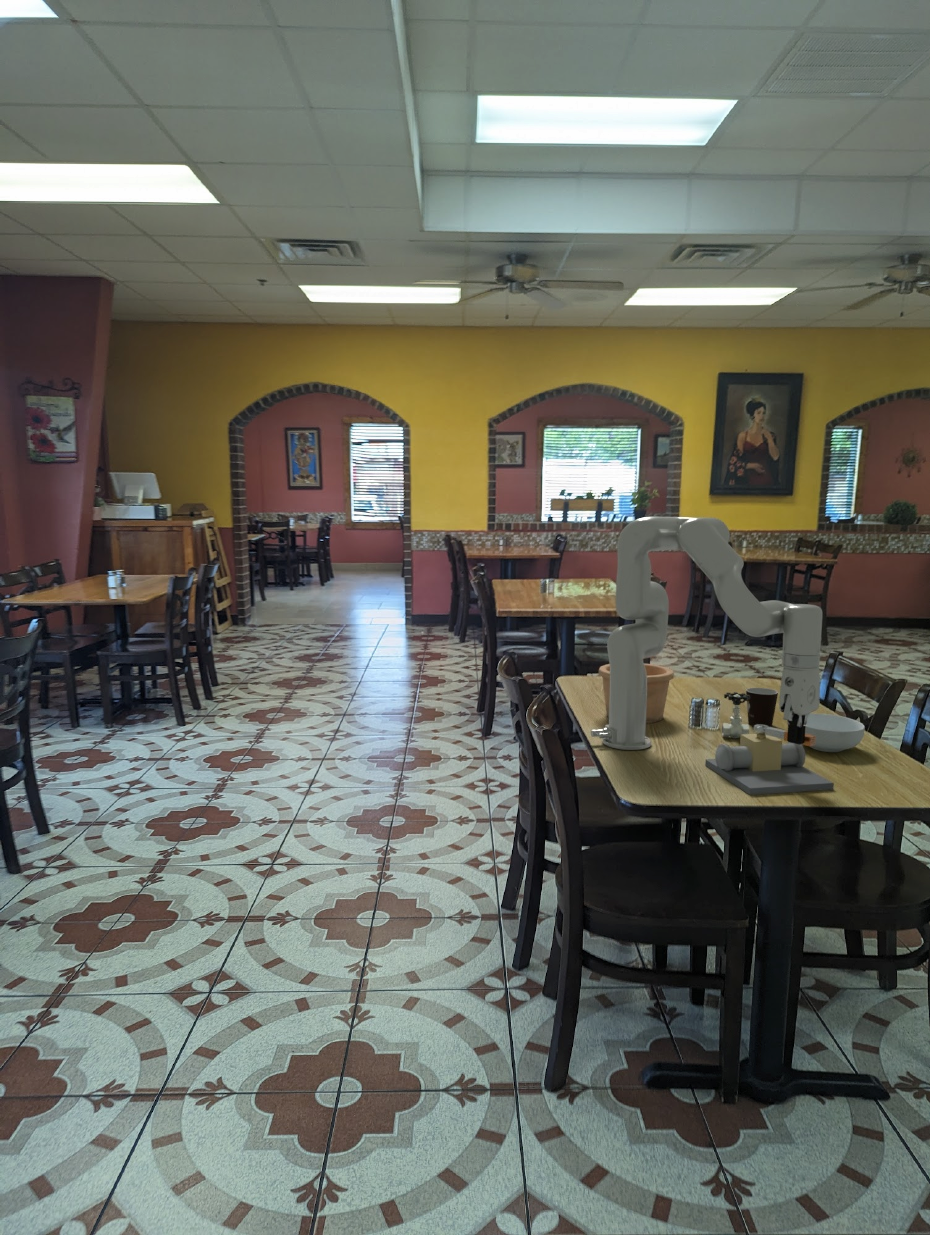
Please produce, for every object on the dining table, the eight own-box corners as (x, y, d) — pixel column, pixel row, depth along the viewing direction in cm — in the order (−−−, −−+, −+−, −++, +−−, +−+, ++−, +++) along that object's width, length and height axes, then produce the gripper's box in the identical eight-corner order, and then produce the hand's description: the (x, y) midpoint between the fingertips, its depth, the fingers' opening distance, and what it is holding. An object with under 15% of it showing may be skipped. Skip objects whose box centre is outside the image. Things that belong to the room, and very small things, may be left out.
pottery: (594, 706, 241) (596, 661, 240) (666, 708, 239) (667, 663, 238) (600, 725, 220) (601, 676, 218) (678, 727, 218) (680, 677, 216)
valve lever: (752, 733, 179) (752, 725, 178) (758, 731, 180) (759, 722, 180) (809, 746, 168) (809, 737, 168) (815, 744, 170) (816, 735, 170)
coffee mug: (773, 730, 215) (775, 695, 213) (741, 726, 219) (742, 692, 218) (780, 721, 224) (782, 687, 223) (750, 717, 229) (751, 684, 228)
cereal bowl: (792, 753, 194) (794, 726, 193) (789, 736, 210) (790, 710, 209) (867, 761, 188) (869, 733, 188) (858, 742, 204) (860, 716, 203)
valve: (749, 742, 204) (752, 698, 202) (723, 740, 205) (725, 697, 203) (745, 735, 210) (748, 692, 208) (720, 734, 211) (722, 691, 210)
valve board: (749, 794, 165) (752, 753, 164) (705, 765, 185) (706, 727, 183) (833, 789, 169) (836, 748, 167) (780, 760, 188) (783, 724, 187)
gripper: (801, 668, 159) (796, 753, 162) (833, 659, 169) (827, 740, 171) (767, 662, 165) (762, 745, 167) (799, 654, 175) (795, 732, 177)
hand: (795, 742), depth 169 cm, fingers closed
